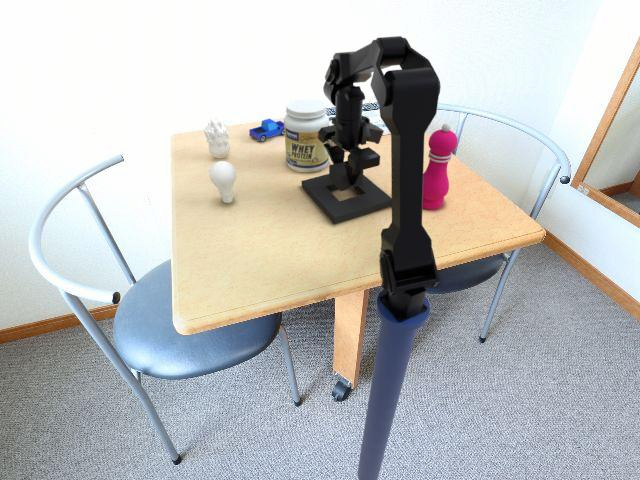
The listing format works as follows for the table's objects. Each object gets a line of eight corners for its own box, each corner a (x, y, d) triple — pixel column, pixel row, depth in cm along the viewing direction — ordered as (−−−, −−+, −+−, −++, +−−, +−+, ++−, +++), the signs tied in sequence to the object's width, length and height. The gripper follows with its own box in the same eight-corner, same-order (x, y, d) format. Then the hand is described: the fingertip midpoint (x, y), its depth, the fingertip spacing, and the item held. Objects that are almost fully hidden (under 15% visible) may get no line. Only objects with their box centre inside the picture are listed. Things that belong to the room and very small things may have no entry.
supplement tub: (281, 171, 103) (275, 111, 92) (293, 152, 112) (290, 95, 101) (323, 176, 100) (323, 115, 89) (332, 156, 109) (333, 98, 99)
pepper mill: (451, 205, 89) (472, 126, 76) (428, 214, 86) (447, 133, 74) (430, 191, 94) (447, 114, 81) (408, 199, 91) (422, 121, 78)
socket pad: (392, 206, 89) (393, 199, 88) (334, 224, 84) (334, 217, 82) (354, 173, 102) (354, 166, 100) (301, 187, 96) (301, 180, 95)
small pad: (362, 185, 89) (363, 170, 86) (340, 191, 87) (341, 176, 84) (349, 174, 93) (350, 159, 90) (328, 179, 91) (329, 165, 88)
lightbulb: (219, 195, 94) (211, 156, 86) (243, 196, 93) (236, 156, 86) (213, 209, 89) (203, 168, 82) (237, 210, 88) (230, 169, 81)
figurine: (213, 151, 113) (205, 112, 105) (234, 151, 113) (228, 112, 105) (207, 162, 107) (198, 122, 100) (230, 162, 107) (223, 122, 100)
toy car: (290, 134, 122) (289, 119, 118) (259, 144, 116) (257, 129, 113) (279, 128, 126) (278, 113, 122) (248, 137, 120) (246, 122, 117)
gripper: (405, 123, 76) (395, 188, 86) (358, 96, 88) (354, 155, 98) (358, 134, 72) (354, 200, 82) (316, 104, 85) (317, 165, 95)
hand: (345, 178), depth 89 cm, fingers closed on small pad, 6 cm apart
